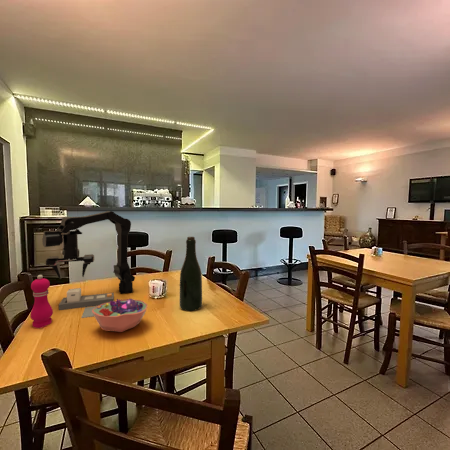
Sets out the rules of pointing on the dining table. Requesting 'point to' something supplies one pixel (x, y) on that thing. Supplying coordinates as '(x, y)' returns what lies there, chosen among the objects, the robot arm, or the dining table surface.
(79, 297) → the block
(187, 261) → the dark green wine bottle
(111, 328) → the cell model
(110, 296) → the power strip
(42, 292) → the pepper mill
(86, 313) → the mat
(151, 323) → the dining table surface
